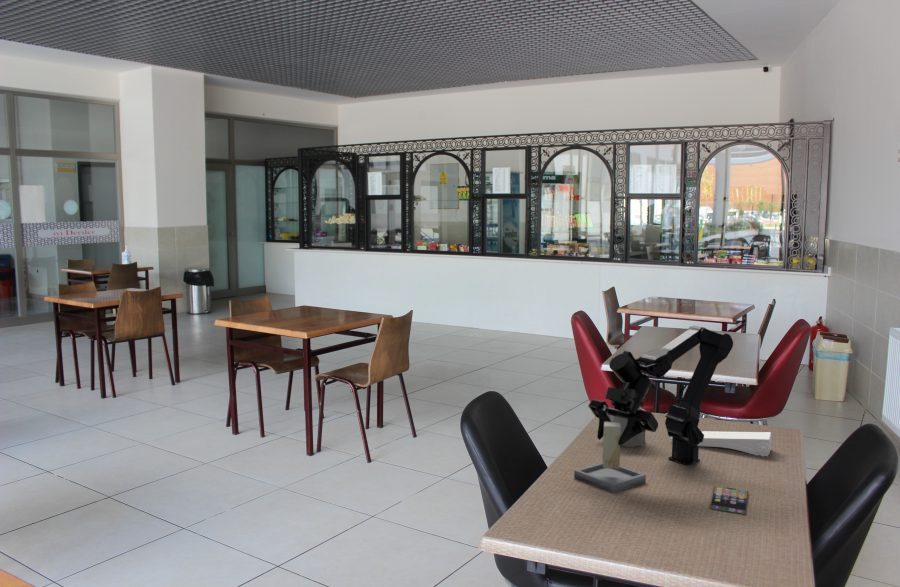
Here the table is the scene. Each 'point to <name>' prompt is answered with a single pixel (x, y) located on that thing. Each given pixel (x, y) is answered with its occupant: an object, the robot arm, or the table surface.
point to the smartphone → (729, 500)
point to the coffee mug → (637, 439)
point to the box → (611, 444)
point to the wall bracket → (739, 441)
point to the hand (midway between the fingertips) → (608, 441)
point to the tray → (610, 477)
